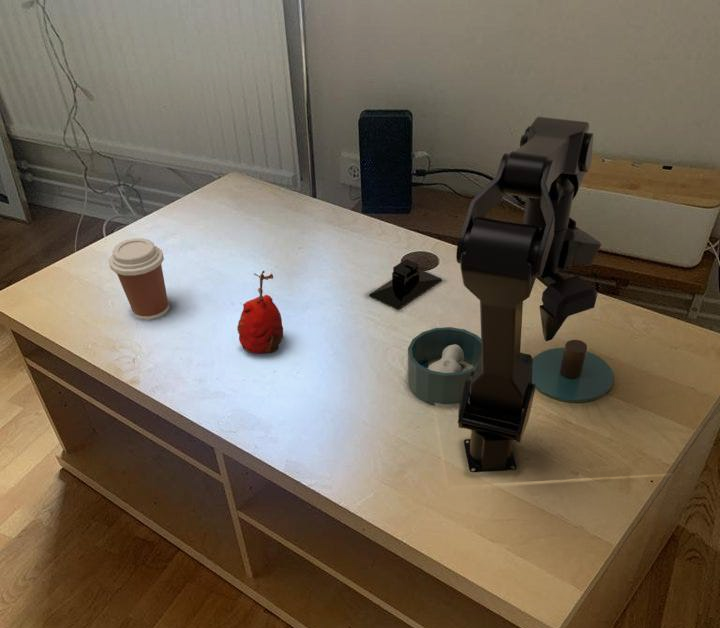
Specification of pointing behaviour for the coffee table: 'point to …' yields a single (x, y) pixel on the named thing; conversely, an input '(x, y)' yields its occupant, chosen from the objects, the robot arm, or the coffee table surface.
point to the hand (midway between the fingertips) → (529, 323)
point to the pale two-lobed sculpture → (449, 360)
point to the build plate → (405, 285)
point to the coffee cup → (141, 276)
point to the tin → (431, 346)
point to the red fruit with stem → (260, 323)
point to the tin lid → (571, 373)
